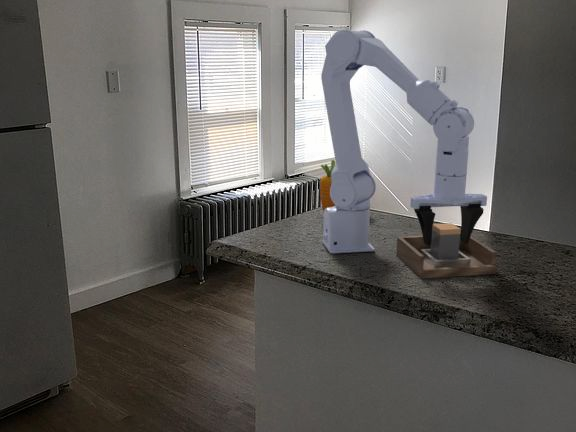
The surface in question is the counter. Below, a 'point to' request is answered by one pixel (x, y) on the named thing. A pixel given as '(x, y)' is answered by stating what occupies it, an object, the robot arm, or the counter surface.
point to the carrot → (326, 187)
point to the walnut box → (473, 249)
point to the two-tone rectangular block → (445, 241)
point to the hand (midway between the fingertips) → (445, 242)
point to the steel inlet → (446, 263)
